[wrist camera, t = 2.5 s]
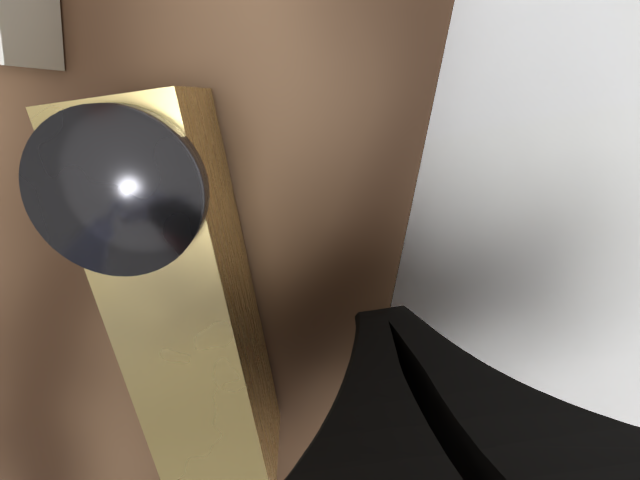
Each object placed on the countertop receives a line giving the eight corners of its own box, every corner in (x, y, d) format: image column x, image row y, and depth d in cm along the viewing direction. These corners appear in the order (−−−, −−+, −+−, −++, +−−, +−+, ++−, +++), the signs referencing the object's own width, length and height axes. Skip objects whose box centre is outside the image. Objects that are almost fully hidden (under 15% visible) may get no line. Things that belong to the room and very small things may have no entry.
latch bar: (99, 104, 9) (-14, 109, 6) (220, 86, 9) (175, 83, 6) (196, 426, 13) (159, 548, 9) (286, 413, 13) (282, 531, 9)
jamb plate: (-188, 443, 14) (-225, 469, 13) (-485, -379, 7) (-600, -448, 6) (347, 472, 15) (350, 497, 14) (477, -181, 9) (499, -214, 8)
